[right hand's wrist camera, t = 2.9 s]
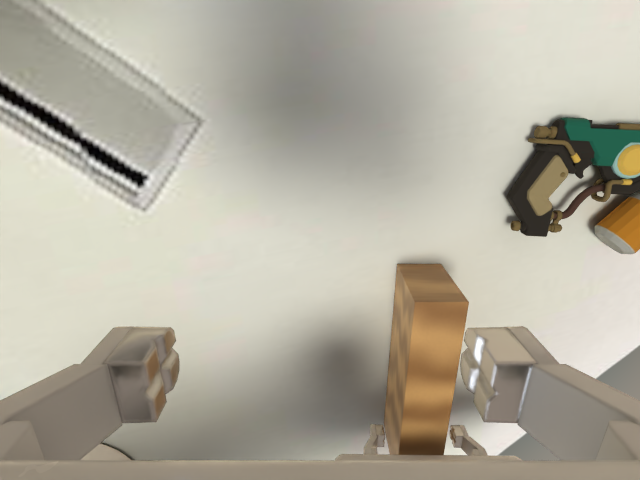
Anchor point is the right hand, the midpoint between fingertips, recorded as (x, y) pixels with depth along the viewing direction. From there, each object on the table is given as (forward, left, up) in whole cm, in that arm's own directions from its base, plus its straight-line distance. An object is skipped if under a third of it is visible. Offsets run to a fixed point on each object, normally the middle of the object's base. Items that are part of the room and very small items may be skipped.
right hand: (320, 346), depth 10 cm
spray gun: (+1, +28, -29) cm, 40 cm away
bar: (+22, +11, -29) cm, 38 cm away
